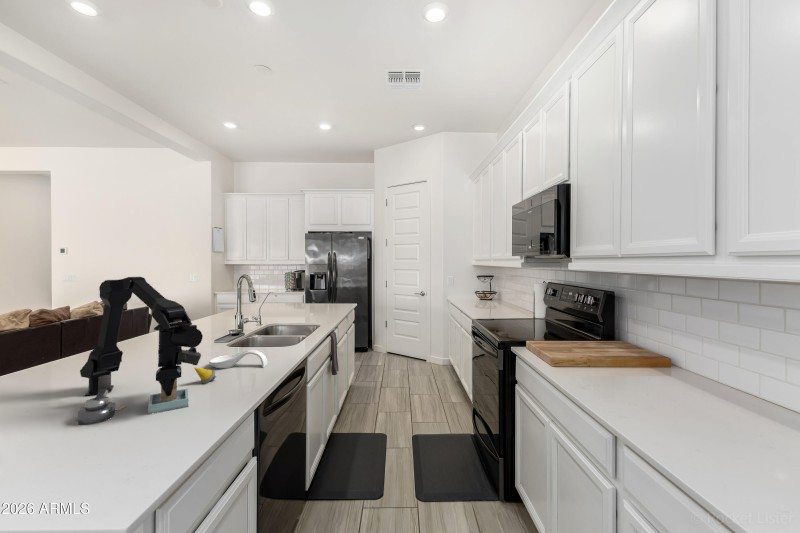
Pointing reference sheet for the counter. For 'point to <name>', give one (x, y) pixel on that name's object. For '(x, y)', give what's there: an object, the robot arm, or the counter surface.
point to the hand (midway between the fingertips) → (169, 393)
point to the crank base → (96, 415)
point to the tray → (168, 402)
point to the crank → (100, 394)
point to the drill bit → (205, 374)
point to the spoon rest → (235, 359)
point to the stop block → (173, 395)
